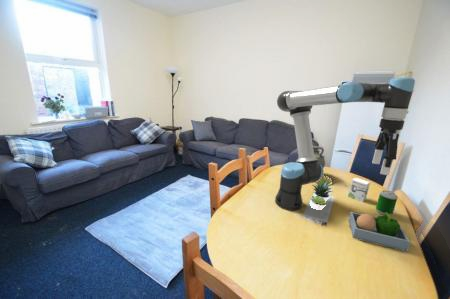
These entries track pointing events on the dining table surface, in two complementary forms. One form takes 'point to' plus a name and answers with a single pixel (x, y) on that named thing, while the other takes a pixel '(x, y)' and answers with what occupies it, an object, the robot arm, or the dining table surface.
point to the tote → (378, 235)
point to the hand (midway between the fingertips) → (379, 168)
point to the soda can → (386, 202)
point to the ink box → (359, 189)
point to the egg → (366, 222)
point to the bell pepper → (387, 225)
